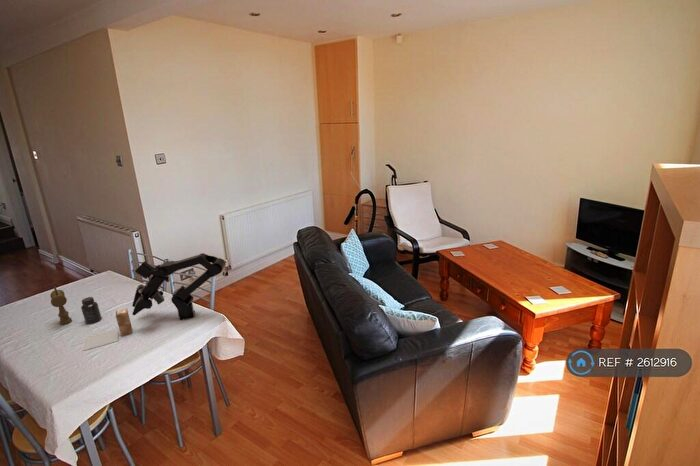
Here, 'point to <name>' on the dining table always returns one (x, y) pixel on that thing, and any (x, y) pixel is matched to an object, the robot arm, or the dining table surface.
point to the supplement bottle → (90, 310)
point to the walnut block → (124, 322)
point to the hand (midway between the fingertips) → (133, 310)
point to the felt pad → (101, 339)
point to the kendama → (60, 305)
